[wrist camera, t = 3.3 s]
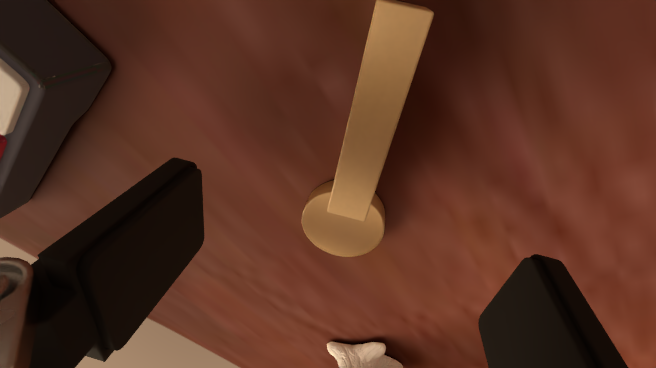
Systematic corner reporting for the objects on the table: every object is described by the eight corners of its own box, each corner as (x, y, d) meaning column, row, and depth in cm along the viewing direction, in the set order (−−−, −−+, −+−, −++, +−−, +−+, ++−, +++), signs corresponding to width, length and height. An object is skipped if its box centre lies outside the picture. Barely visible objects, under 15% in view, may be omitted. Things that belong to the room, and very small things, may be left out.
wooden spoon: (346, -11, 12) (334, -11, 9) (462, 15, 11) (478, 21, 9) (301, 231, 19) (289, 263, 16) (373, 250, 18) (370, 285, 16)
